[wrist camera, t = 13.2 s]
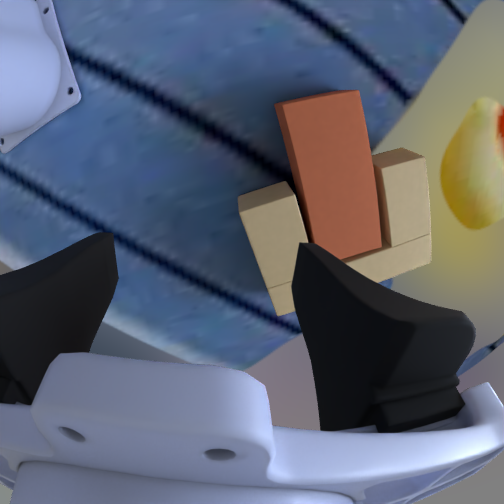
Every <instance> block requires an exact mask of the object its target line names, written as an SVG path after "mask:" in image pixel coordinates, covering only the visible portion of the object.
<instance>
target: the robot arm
mask: <svg viewBox="0 0 504 504" xmlns="http://www.w3.org/2000/svg"><path fill="white" fill-rule="evenodd" d="M48 9H49V11H48V13H46V11H47V10H48ZM71 87H72V88H73V93H72V94H70V89H71ZM80 99H81V93H80V90H79V87H78V84H77V81H76V78H75V76H74V73H73V70H72V67H71V64H70V61H69V57H68V54H67V51H66V48H65V45H64V41H63V38H62V35H61V31H60V28H59V24H58V21H57V17H56V13H55V10H54V6H53V2H52V0H37V1H33V0H0V150H1V152H2V153H7V152H9V151H10V150H12V149H13V148H14V147H15V146H17V145H18V144H19V143H20V142H22V141H23V140H24V139H26V138H27V137H28V136H30V135H31V134H32V133H34V132H35V131H37V130H38V129H39V128H41V127H42V126H44V125H45V124H46V123H48V122H49V121H51V120H52V119H54V118H55V117H57V116H58V115H60V114H61V113H63V112H64V111H66V110H68V109H69V108H71V107H72V106H74V105H76V104H77V103H78V102H79V101H80ZM3 139H4V143H3ZM118 279H119V277H118V270H117V263H116V255H115V247H114V238H113V233H101V232H99V233H96V234H93V235H91V236H88V237H86V238H84V239H82V240H80V241H78V242H76V243H74V244H72V245H71V246H69V247H67V248H65V249H63V250H61V251H59V252H57V253H55V254H53V255H51V256H49V257H47V258H45V259H43V260H41V261H38V262H36V263H34V264H31V265H29V266H26V267H24V268H21V269H18V270H15V271H12V272H9V273H6V274H2V275H0V484H2V485H4V486H6V487H8V488H10V489H12V490H13V493H12V497H11V501H10V504H412V503H414V502H417V501H419V500H421V499H424V498H426V497H428V496H430V495H432V494H435V493H437V492H439V491H441V490H443V489H445V488H447V487H450V486H452V485H454V484H456V483H458V482H460V481H462V480H464V479H465V478H467V477H469V476H471V475H473V474H475V473H476V472H478V471H479V470H480V469H481V468H483V467H484V466H485V465H486V464H488V463H489V462H490V461H491V460H493V459H494V458H495V457H496V456H497V455H498V454H500V453H501V452H502V451H503V450H504V406H503V405H502V403H501V402H500V400H499V398H498V397H497V395H496V393H495V392H494V390H493V389H492V387H491V386H490V384H489V383H487V382H486V383H483V384H480V385H477V386H474V387H471V388H468V389H466V390H464V391H463V392H462V393H459V392H458V390H457V388H456V386H457V385H458V384H459V379H458V377H457V376H456V372H457V371H458V369H459V368H460V366H461V365H462V363H463V362H464V360H465V359H466V357H467V355H468V354H469V352H470V350H471V348H472V346H473V343H474V340H475V337H476V329H475V327H474V325H473V323H472V322H471V321H470V320H469V318H468V317H467V316H466V315H465V314H464V313H463V312H462V311H457V310H453V309H448V308H443V307H438V306H435V305H431V304H428V303H424V302H421V301H418V300H415V299H413V298H410V297H407V296H405V295H402V294H400V293H397V292H395V291H393V290H391V289H388V288H386V287H384V286H382V285H380V284H378V283H376V282H374V281H373V280H371V279H369V278H367V277H366V276H364V275H362V274H361V273H359V272H358V271H356V270H354V269H353V268H351V267H350V266H348V265H347V264H345V263H344V262H342V261H341V260H340V259H338V258H337V257H335V256H334V255H332V254H331V253H330V252H328V251H327V250H325V249H324V248H322V247H321V246H319V245H317V244H315V243H302V242H299V247H298V252H297V258H296V263H295V269H294V274H293V279H292V285H291V290H292V296H293V302H294V308H295V311H296V314H297V317H298V321H299V324H300V327H301V330H302V333H303V336H304V339H305V342H306V345H307V348H308V352H309V356H310V359H311V364H312V370H313V375H314V381H315V388H316V394H317V401H318V410H319V418H320V419H319V420H320V430H321V431H317V430H307V429H297V428H288V427H280V426H273V425H272V421H271V413H270V406H269V400H268V396H267V392H266V388H265V385H263V384H262V383H260V382H259V381H257V380H256V379H255V378H253V377H252V376H250V375H249V374H247V373H246V372H244V371H240V370H235V369H230V368H225V367H220V366H215V365H201V364H184V363H170V362H158V361H148V360H138V359H130V358H121V357H114V356H106V355H99V354H93V353H89V351H90V348H91V345H92V342H93V340H94V338H95V335H96V333H97V331H98V328H99V326H100V324H101V322H102V320H103V318H104V315H105V313H106V311H107V309H108V307H109V305H110V303H111V300H112V298H113V295H114V292H115V289H116V285H117V282H118Z"/></svg>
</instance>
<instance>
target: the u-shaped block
mask: <svg viewBox="0 0 504 504" xmlns="http://www.w3.org/2000/svg"><path fill="white" fill-rule="evenodd" d="M371 157H372V163H373V170H374V177H375V185H376V193H377V201H378V211H379V221H380V232H381V245H382V247H380V248H377V249H373V250H370V251H367V252H363V253H360V254H357V255H353V256H350V257H347V258H343V259H340V260H341V261H342V262H344V263H345V264H347V265H348V266H350V267H351V268H353V269H354V270H356V271H358V272H359V273H361V274H362V275H364V276H366V277H367V278H369V279H371V280H373V281H374V282H376V283H378V282H381V281H384V280H387V279H389V278H392V277H394V276H397V275H400V274H402V273H405V272H408V271H410V270H412V269H415V268H418V267H420V266H423V265H425V264H428V263H430V262H431V223H430V204H429V191H428V180H427V171H426V162H425V157H424V156H422V155H419V154H417V153H414V152H412V151H409V150H407V149H404V148H399V149H395V150H391V151H387V152H383V153H379V154H376V155H372V156H371ZM238 207H239V214H240V217H241V220H242V223H243V225H244V228H245V231H246V233H247V236H248V239H249V241H250V244H251V247H252V249H253V252H254V255H255V257H256V260H257V263H258V265H259V268H260V271H261V273H262V276H263V279H264V282H265V284H266V287H267V290H268V292H269V295H270V298H271V300H272V303H273V306H274V308H275V311H276V314H277V316H280V315H284V314H287V313H290V312H293V311H295V308H294V302H293V296H292V290H291V285H292V279H293V274H294V269H295V263H296V258H297V252H298V247H299V242H302V243H308V239H307V236H306V232H305V228H304V225H303V221H302V217H301V214H300V210H299V207H298V203H297V200H296V196H295V194H294V192H293V191H292V189H291V188H290V186H289V185H288V183H287V182H286V181H283V182H280V183H277V184H274V185H271V186H268V187H265V188H261V189H258V190H255V191H252V192H249V193H246V194H243V195H240V196H238Z"/></svg>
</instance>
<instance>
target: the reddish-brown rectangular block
mask: <svg viewBox="0 0 504 504" xmlns="http://www.w3.org/2000/svg"><path fill="white" fill-rule="evenodd" d="M274 106H275V110H276V113H277V117H278V121H279V124H280V128H281V132H282V135H283V139H284V143H285V147H286V151H287V155H288V158H289V162H290V166H291V170H292V174H293V179H294V183H295V187H296V191H297V195H298V200H299V204H300V208H301V213H302V217H303V221H304V226H305V230H306V235H307V239H308V243H315V244H317V245H319V246H321V247H322V248H324V249H325V250H327V251H328V252H330V253H331V254H332V255H334V256H335V257H337V258H338V259H343V258H347V257H350V256H353V255H357V254H360V253H363V252H367V251H370V250H373V249H377V248H380V247H382V245H381V232H380V221H379V211H378V201H377V193H376V185H375V177H374V170H373V163H372V157H371V151H370V145H369V139H368V133H367V128H366V123H365V117H364V113H363V108H362V103H361V98H360V94H359V90H339V91H333V92H327V93H322V94H317V95H312V96H307V97H302V98H297V99H293V100H288V101H284V102H280V103H276V104H274Z"/></svg>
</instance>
